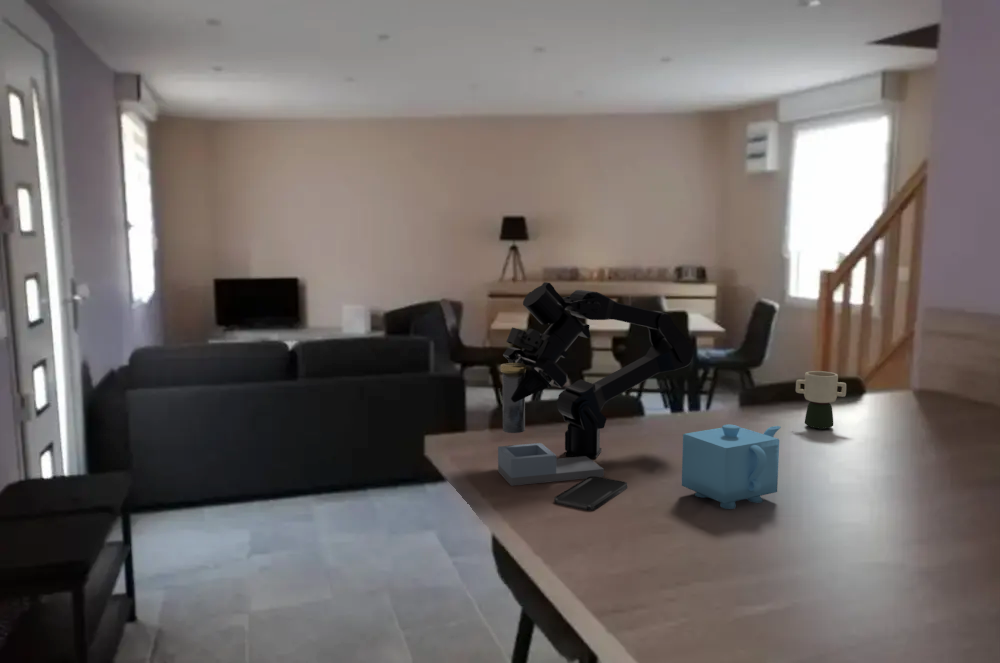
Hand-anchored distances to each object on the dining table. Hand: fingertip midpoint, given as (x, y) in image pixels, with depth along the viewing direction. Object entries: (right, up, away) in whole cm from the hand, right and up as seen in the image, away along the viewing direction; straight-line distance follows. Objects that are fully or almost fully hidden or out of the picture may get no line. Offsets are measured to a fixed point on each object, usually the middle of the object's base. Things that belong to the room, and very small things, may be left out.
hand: (507, 398), depth 152 cm
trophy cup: (+74, -10, +29) cm, 80 cm away
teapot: (+41, -16, -16) cm, 47 cm away
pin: (+1, -6, +1) cm, 7 cm away
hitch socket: (+8, -14, -4) cm, 17 cm away
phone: (+15, -16, -16) cm, 27 cm away
